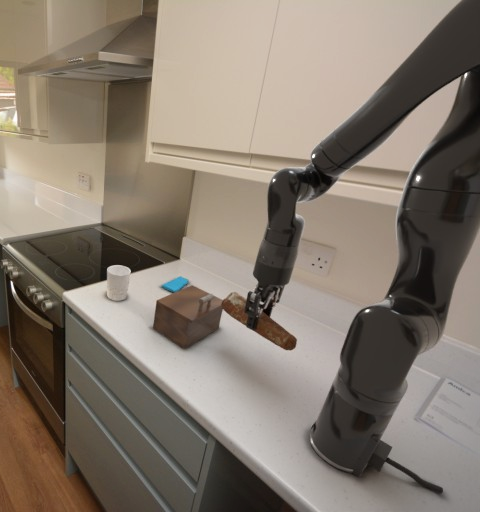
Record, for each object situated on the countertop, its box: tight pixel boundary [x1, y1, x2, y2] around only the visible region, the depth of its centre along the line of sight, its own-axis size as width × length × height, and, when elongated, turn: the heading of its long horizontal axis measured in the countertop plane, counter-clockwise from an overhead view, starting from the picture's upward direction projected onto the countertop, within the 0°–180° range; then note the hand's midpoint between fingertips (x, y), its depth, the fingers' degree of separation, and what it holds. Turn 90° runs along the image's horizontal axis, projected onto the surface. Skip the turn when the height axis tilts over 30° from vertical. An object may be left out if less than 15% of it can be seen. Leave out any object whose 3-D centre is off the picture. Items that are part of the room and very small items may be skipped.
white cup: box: [106, 264, 132, 302], centre depth 115 cm, size 8×8×10 cm
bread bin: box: [152, 302, 224, 350], centre depth 100 cm, size 12×17×9 cm
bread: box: [221, 291, 298, 351], centre depth 81 cm, size 6×19×6 cm, turn 25°
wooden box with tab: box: [155, 284, 224, 323], centre depth 97 cm, size 12×17×4 cm
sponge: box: [161, 276, 190, 293], centre depth 126 cm, size 2×12×6 cm
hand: (257, 323), depth 81 cm, fingers closed on bread, 6 cm apart
